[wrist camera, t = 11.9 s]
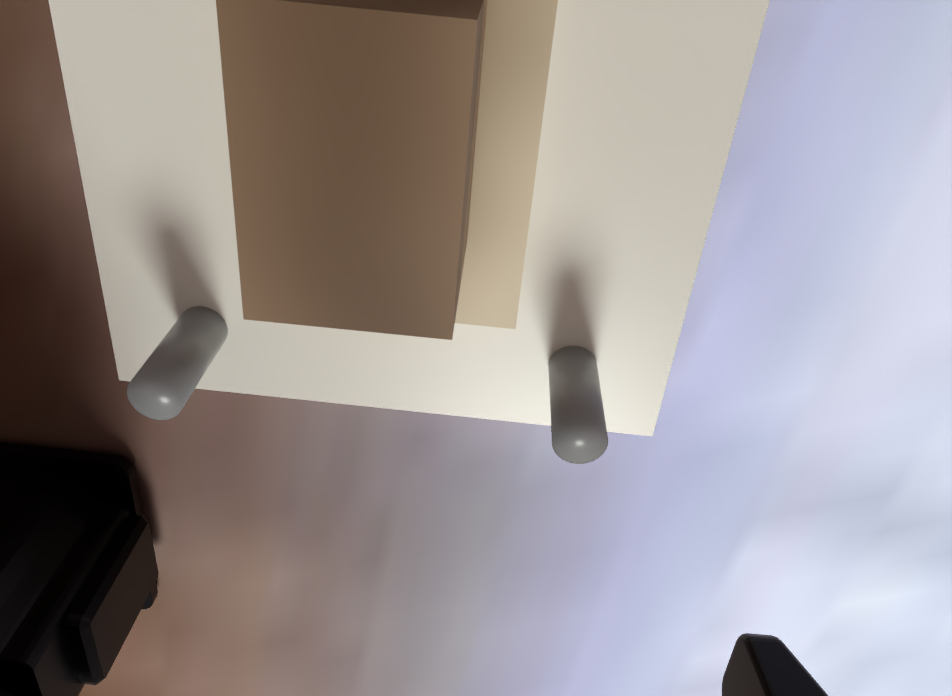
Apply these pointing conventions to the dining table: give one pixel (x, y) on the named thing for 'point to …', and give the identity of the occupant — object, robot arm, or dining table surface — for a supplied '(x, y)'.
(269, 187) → the tan boxy piece
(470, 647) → the dining table surface
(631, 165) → the chassis
